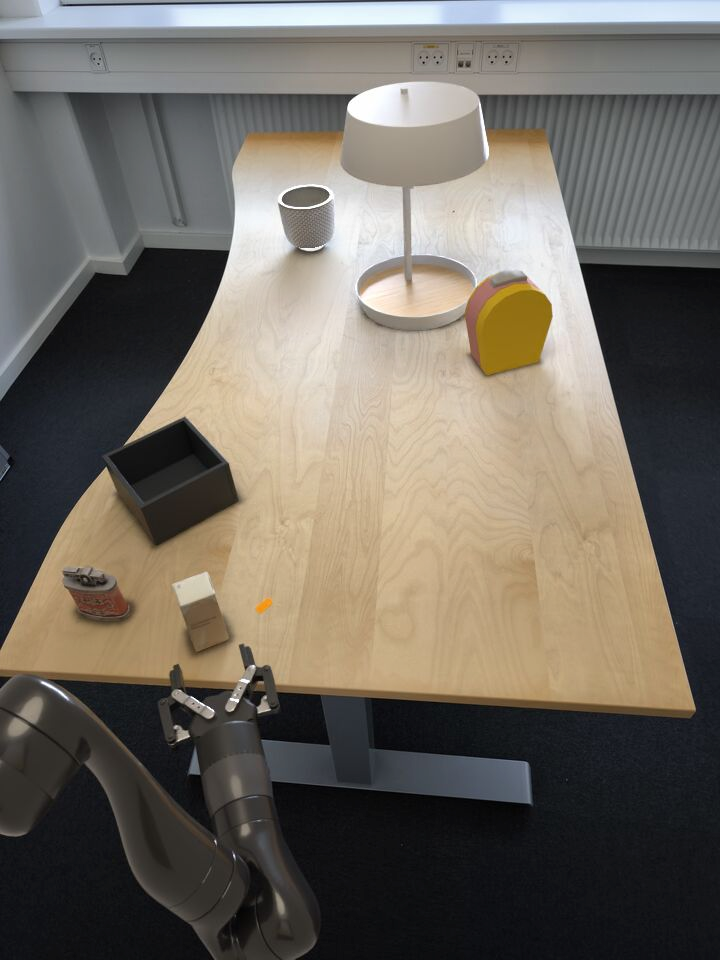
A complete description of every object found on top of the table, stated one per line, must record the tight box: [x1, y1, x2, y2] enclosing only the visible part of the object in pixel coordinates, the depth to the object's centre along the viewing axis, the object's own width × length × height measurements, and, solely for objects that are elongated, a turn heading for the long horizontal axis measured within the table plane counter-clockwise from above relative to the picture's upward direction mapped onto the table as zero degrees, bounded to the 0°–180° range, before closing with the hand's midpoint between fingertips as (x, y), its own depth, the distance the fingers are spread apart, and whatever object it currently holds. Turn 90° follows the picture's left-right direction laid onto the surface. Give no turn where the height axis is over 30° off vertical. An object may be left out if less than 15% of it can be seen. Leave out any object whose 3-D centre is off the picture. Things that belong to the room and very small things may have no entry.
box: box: [171, 571, 230, 653], centre depth 102 cm, size 5×4×11 cm
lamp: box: [339, 81, 490, 332], centre depth 151 cm, size 29×29×43 cm
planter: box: [277, 184, 336, 248], centre depth 184 cm, size 14×14×13 cm
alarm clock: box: [464, 268, 553, 376], centre depth 142 cm, size 15×8×18 cm, turn 108°
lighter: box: [61, 565, 132, 622], centre depth 107 cm, size 8×3×10 cm, turn 80°
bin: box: [101, 416, 239, 546], centre depth 123 cm, size 16×16×9 cm
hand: (209, 657), depth 95 cm, fingers open, 8 cm apart
